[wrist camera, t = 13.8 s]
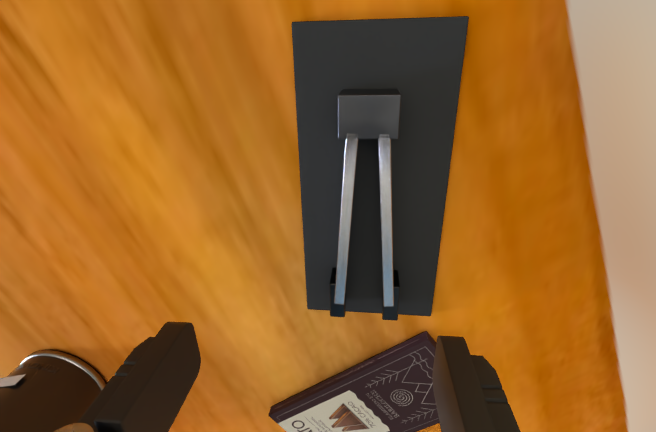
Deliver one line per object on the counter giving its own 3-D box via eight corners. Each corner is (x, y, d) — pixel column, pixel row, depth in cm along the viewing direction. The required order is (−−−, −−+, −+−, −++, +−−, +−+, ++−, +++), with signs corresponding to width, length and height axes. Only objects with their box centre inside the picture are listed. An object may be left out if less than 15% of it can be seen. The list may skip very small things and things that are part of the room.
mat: (430, 311, 29) (431, 316, 29) (308, 304, 30) (307, 309, 30) (466, 17, 20) (469, 16, 20) (293, 22, 21) (291, 21, 21)
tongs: (329, 89, 22) (322, 95, 19) (411, 88, 22) (417, 94, 19) (332, 298, 29) (328, 326, 26) (395, 301, 28) (398, 330, 25)
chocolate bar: (484, 405, 31) (325, 466, 37) (481, 396, 32) (327, 456, 38) (427, 339, 29) (268, 415, 35) (426, 331, 30) (271, 406, 36)
